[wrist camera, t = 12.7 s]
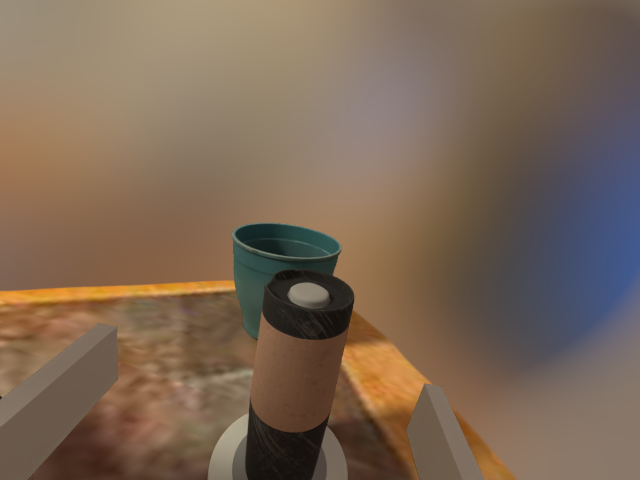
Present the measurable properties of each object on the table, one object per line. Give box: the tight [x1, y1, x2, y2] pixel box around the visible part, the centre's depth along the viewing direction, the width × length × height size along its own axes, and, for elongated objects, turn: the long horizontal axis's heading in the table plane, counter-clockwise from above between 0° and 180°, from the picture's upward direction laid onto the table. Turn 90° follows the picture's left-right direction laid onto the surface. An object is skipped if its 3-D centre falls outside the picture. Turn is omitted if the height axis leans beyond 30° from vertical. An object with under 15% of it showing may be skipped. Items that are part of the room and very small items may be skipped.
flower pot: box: [232, 223, 341, 339], centre depth 52 cm, size 18×18×17 cm
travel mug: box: [245, 269, 354, 480], centre depth 28 cm, size 8×8×20 cm
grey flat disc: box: [208, 413, 348, 480], centre depth 31 cm, size 14×14×1 cm
